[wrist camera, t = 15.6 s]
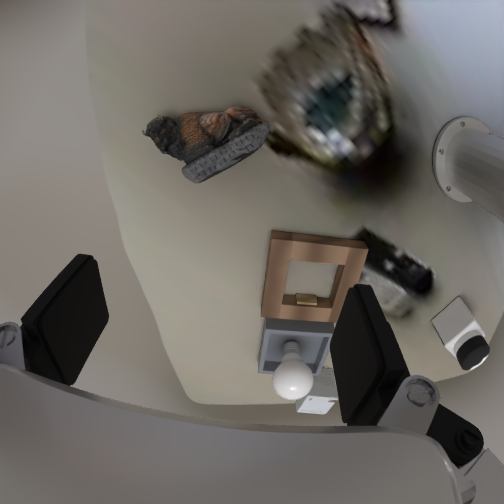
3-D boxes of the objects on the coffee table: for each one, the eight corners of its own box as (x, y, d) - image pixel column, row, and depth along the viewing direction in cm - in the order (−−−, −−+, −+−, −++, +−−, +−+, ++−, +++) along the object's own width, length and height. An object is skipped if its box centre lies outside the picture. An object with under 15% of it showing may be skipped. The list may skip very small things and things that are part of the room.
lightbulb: (315, 347, 50) (322, 399, 40) (284, 360, 52) (285, 411, 42) (298, 325, 47) (303, 379, 38) (265, 340, 49) (263, 393, 40)
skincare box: (293, 382, 56) (295, 412, 50) (304, 364, 53) (307, 395, 47) (321, 385, 57) (325, 415, 50) (333, 368, 54) (338, 398, 47)
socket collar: (363, 241, 40) (368, 249, 38) (341, 312, 47) (344, 322, 44) (271, 230, 40) (271, 238, 38) (261, 306, 46) (260, 316, 44)
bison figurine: (276, 131, 34) (227, 66, 30) (280, 142, 28) (219, 62, 24) (199, 184, 38) (151, 126, 34) (187, 206, 32) (128, 136, 28)
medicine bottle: (430, 320, 47) (454, 367, 37) (458, 295, 44) (488, 339, 34) (444, 335, 49) (467, 379, 39) (470, 312, 46) (497, 354, 36)
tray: (332, 321, 48) (335, 333, 45) (317, 364, 53) (318, 376, 50) (265, 316, 47) (265, 328, 45) (258, 360, 53) (257, 372, 50)
